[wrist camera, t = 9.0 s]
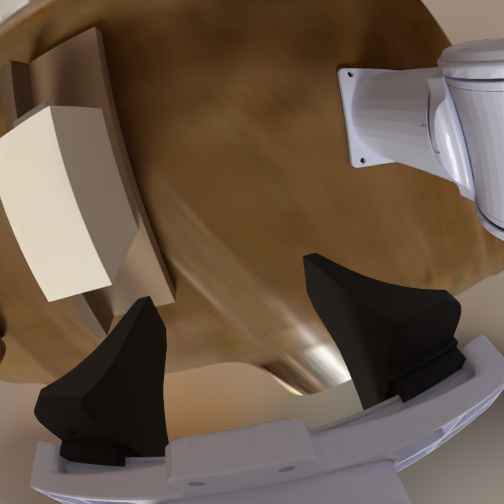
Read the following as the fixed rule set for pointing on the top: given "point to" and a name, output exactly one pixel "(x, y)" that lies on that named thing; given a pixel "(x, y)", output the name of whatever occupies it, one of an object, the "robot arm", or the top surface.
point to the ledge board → (101, 96)
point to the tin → (2, 349)
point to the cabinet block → (66, 198)
